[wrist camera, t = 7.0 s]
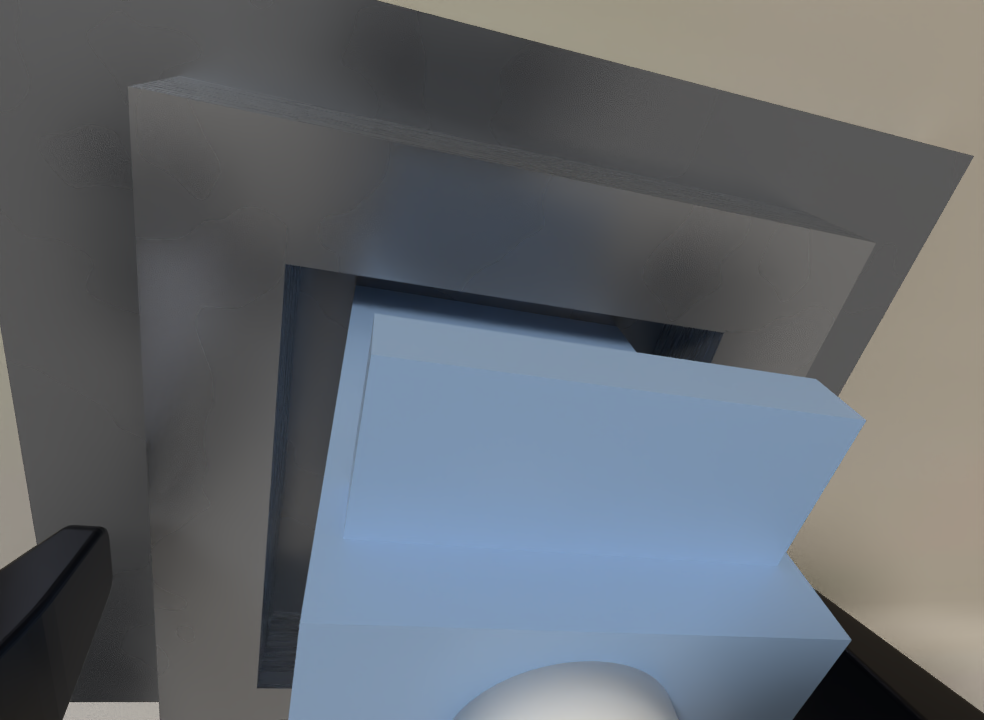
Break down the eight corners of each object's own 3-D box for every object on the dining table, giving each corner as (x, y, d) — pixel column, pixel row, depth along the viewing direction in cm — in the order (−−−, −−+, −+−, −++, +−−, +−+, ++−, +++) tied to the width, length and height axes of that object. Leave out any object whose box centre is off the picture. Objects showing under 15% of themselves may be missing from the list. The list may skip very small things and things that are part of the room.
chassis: (650, 663, 15) (691, 767, 13) (86, 655, 12) (20, 787, 10) (921, 144, 10) (1074, 177, 7) (-13, -98, 7) (-209, -159, 4)
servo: (505, 643, 13) (588, 1113, 7) (309, 638, 12) (231, 1173, 6) (649, 233, 9) (1095, 587, 3) (369, 177, 8) (301, 537, 2)
